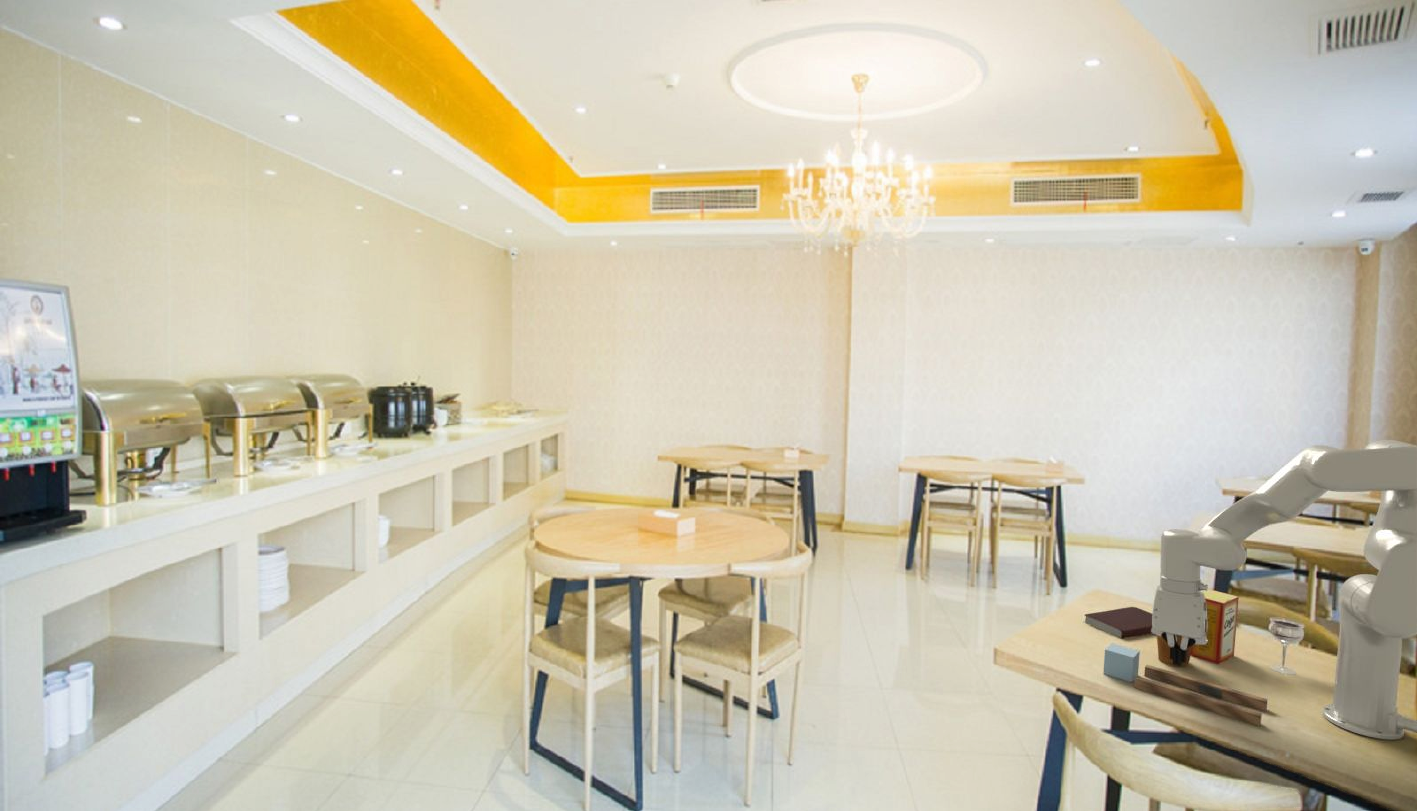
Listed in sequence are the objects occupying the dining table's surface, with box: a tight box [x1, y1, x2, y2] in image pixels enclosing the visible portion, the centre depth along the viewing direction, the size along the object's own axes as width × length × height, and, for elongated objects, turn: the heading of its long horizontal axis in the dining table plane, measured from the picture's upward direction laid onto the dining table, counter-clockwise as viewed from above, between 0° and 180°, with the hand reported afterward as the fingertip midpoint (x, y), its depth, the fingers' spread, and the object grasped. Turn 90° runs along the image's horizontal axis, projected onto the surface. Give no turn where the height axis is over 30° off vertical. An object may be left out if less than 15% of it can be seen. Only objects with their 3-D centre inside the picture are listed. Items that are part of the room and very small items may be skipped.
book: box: [1084, 606, 1154, 639], centre depth 199 cm, size 12×19×3 cm, turn 110°
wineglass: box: [1268, 616, 1305, 675], centre depth 173 cm, size 7×7×12 cm
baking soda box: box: [1190, 588, 1240, 665], centre depth 181 cm, size 10×6×16 cm
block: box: [1102, 643, 1141, 683], centre depth 169 cm, size 6×6×6 cm
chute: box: [1133, 664, 1269, 727], centre depth 158 cm, size 23×10×2 cm, turn 45°
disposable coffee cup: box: [1156, 635, 1193, 668], centre depth 176 cm, size 10×10×12 cm
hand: (1178, 663), depth 161 cm, fingers closed
